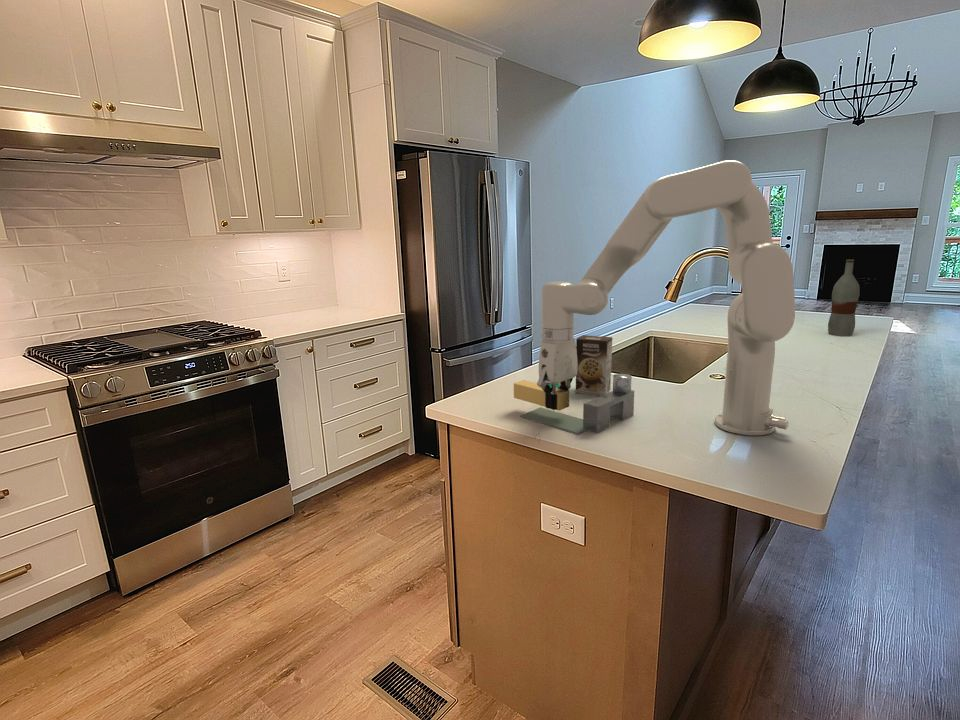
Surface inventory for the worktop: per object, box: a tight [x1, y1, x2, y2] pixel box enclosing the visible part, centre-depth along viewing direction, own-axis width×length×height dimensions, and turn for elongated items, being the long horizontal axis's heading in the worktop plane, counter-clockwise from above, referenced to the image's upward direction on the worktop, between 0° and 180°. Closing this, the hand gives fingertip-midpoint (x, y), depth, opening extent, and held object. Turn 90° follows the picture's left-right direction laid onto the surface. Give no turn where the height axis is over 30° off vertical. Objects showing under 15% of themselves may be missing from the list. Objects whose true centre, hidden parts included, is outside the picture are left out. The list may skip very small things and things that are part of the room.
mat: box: [520, 406, 588, 435], centre depth 129 cm, size 18×8×1 cm, turn 43°
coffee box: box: [575, 334, 613, 396], centre depth 149 cm, size 9×6×16 cm
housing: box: [582, 373, 635, 434], centre depth 126 cm, size 4×16×10 cm, turn 134°
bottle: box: [827, 259, 861, 337], centre depth 207 cm, size 9×9×30 cm
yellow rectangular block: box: [513, 379, 570, 412], centre depth 132 cm, size 15×4×4 cm, turn 43°
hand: (557, 405), depth 128 cm, fingers closed on yellow rectangular block, 4 cm apart
